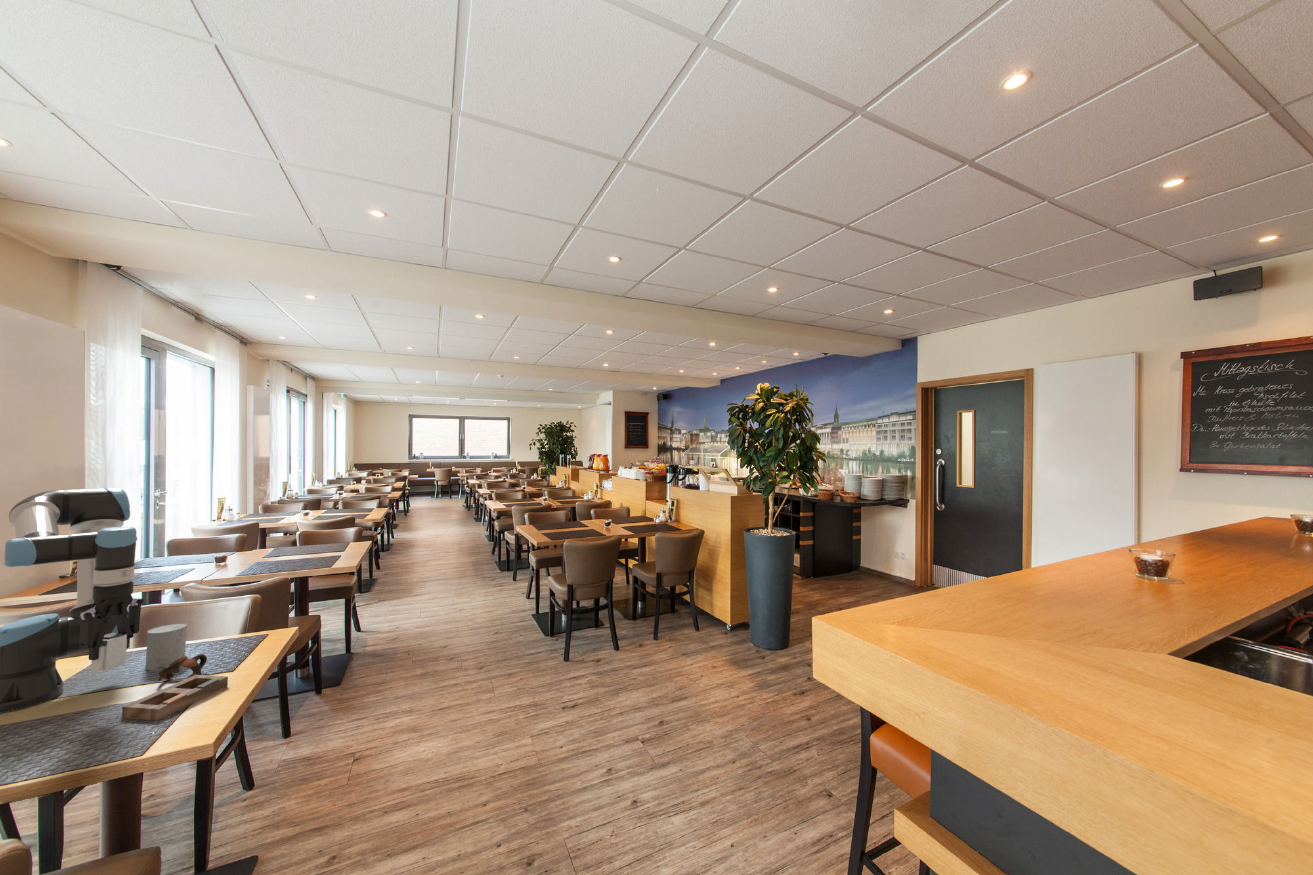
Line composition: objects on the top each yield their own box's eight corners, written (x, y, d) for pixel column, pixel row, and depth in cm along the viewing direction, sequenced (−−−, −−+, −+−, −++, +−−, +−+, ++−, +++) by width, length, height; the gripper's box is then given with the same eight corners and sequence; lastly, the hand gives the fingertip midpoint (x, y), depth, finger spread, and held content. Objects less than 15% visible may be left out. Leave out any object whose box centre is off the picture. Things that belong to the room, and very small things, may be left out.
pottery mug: (184, 689, 145) (167, 668, 144) (161, 699, 147) (145, 679, 145) (221, 662, 157) (206, 643, 156) (200, 672, 158) (185, 653, 157)
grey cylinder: (164, 670, 156) (166, 633, 156) (136, 670, 156) (138, 632, 157) (193, 658, 166) (195, 623, 166) (166, 657, 166) (168, 622, 166)
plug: (91, 670, 129) (93, 637, 129) (111, 663, 134) (113, 631, 134) (105, 671, 129) (107, 638, 129) (124, 664, 133) (126, 632, 133)
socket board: (121, 717, 128) (122, 705, 128) (195, 684, 147) (196, 673, 147) (157, 720, 127) (158, 707, 127) (227, 686, 146) (227, 675, 146)
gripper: (85, 592, 123) (79, 682, 122) (161, 575, 140) (156, 653, 139) (60, 591, 123) (54, 680, 123) (138, 574, 141) (134, 652, 140)
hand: (108, 665), depth 131 cm, fingers closed on plug, 4 cm apart
